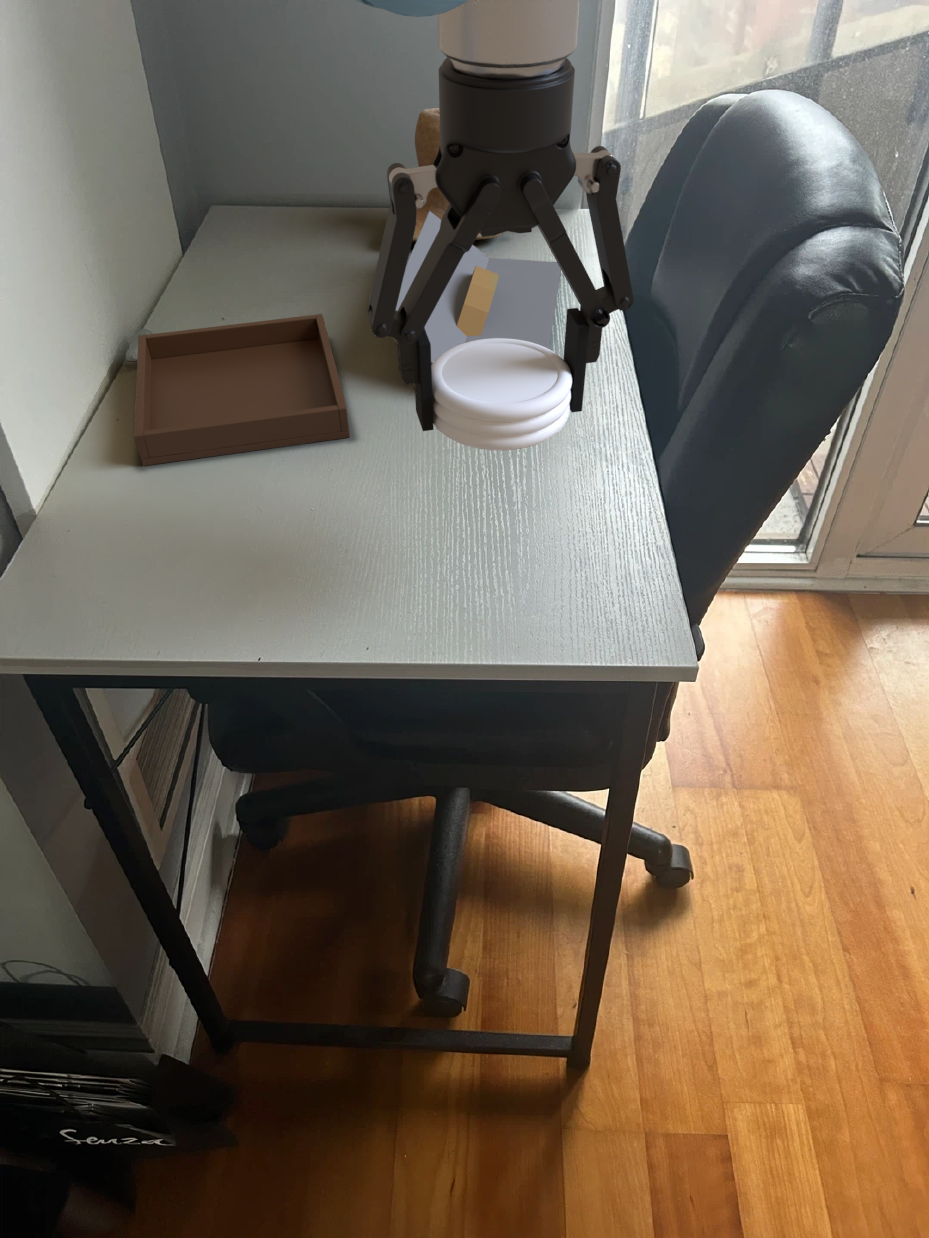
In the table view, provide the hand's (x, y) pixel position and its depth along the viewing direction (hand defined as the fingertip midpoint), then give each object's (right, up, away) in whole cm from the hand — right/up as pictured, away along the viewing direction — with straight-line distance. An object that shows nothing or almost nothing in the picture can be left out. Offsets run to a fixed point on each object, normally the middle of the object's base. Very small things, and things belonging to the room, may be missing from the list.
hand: (498, 411), depth 67 cm
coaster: (0, 0, 0) cm, 0 cm away
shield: (-1, +18, +39) cm, 43 cm away
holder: (-25, +8, +30) cm, 40 cm away
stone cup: (-5, +36, +59) cm, 69 cm away
